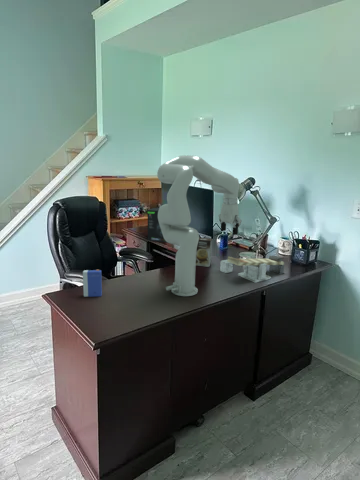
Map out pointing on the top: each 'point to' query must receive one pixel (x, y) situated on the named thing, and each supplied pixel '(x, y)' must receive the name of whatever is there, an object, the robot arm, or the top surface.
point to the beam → (256, 261)
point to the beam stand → (259, 272)
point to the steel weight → (226, 266)
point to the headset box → (154, 226)
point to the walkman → (92, 283)
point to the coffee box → (203, 252)
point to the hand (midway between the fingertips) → (229, 232)
